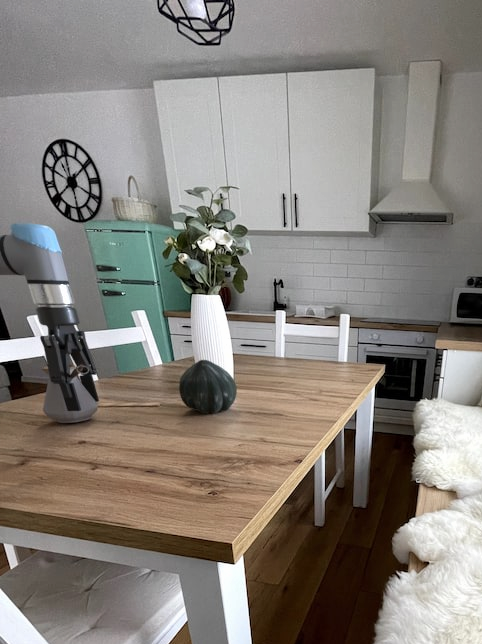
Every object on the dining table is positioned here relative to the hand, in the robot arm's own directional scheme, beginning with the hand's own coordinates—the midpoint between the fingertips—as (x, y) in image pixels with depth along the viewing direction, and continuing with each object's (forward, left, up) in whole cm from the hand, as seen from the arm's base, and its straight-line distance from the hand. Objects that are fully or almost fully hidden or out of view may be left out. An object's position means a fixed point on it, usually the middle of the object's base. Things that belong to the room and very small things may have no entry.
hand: (84, 405), depth 98 cm
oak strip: (0, +16, -4) cm, 17 cm away
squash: (+28, +10, -4) cm, 30 cm away
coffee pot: (0, -2, -4) cm, 4 cm away
